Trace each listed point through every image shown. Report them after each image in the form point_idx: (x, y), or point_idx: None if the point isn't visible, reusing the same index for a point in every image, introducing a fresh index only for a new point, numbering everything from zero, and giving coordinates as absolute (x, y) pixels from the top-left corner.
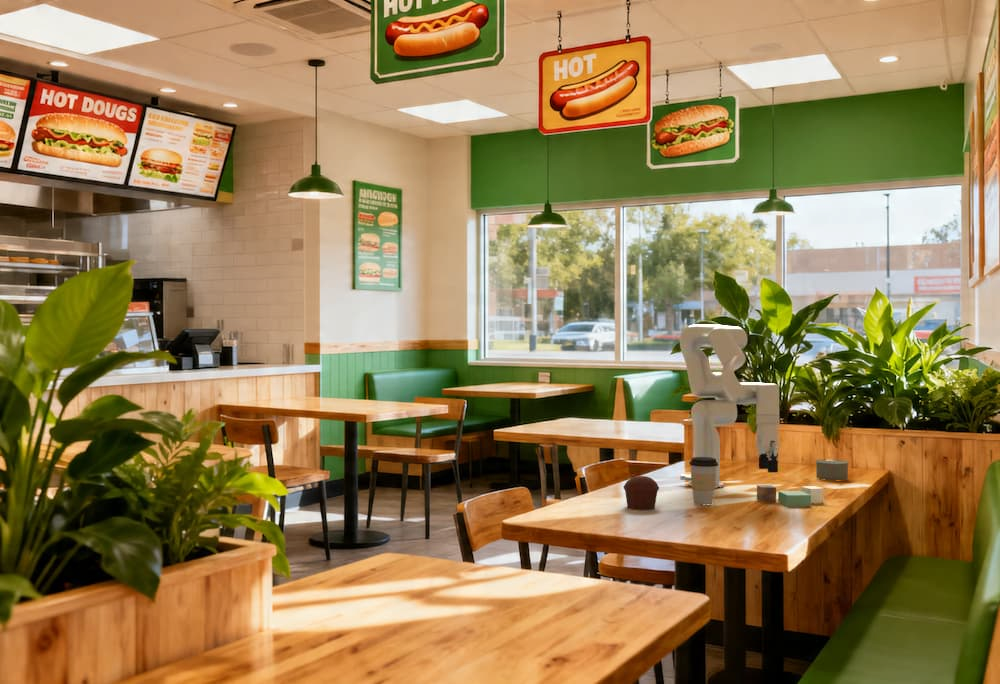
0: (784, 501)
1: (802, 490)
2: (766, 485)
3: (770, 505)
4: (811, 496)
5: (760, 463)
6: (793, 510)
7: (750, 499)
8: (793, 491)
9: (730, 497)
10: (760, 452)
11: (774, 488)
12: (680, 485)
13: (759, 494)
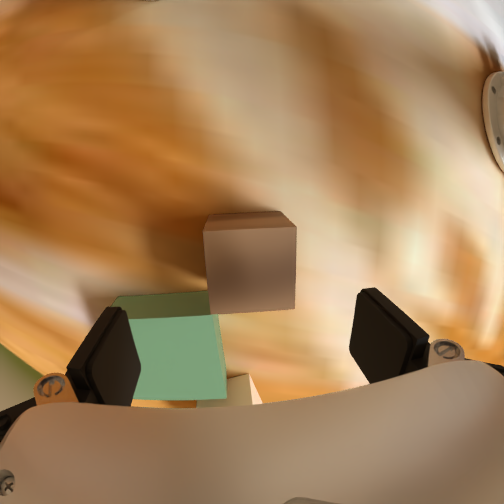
0: (139, 302)
1: (246, 403)
2: (280, 279)
3: (129, 236)
4: (197, 405)
5: (378, 316)
6: (56, 295)
7: (277, 179)
8: (211, 371)
9: (326, 101)
10: (236, 406)
11: (209, 303)
12: (501, 55)
13: (239, 219)
